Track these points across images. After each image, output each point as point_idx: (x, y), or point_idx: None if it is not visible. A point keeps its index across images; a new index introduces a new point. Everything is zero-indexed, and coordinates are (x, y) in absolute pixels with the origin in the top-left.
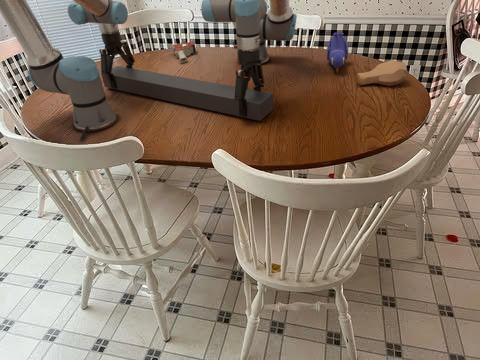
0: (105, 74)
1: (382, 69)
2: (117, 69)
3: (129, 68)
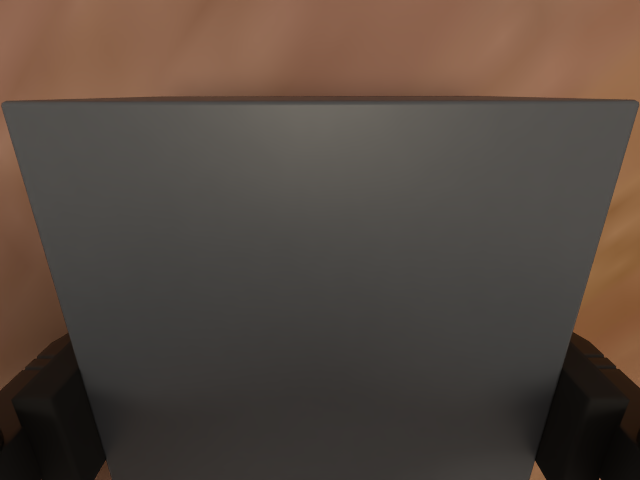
0: (52, 262)
1: None
2: (391, 298)
3: (514, 457)
